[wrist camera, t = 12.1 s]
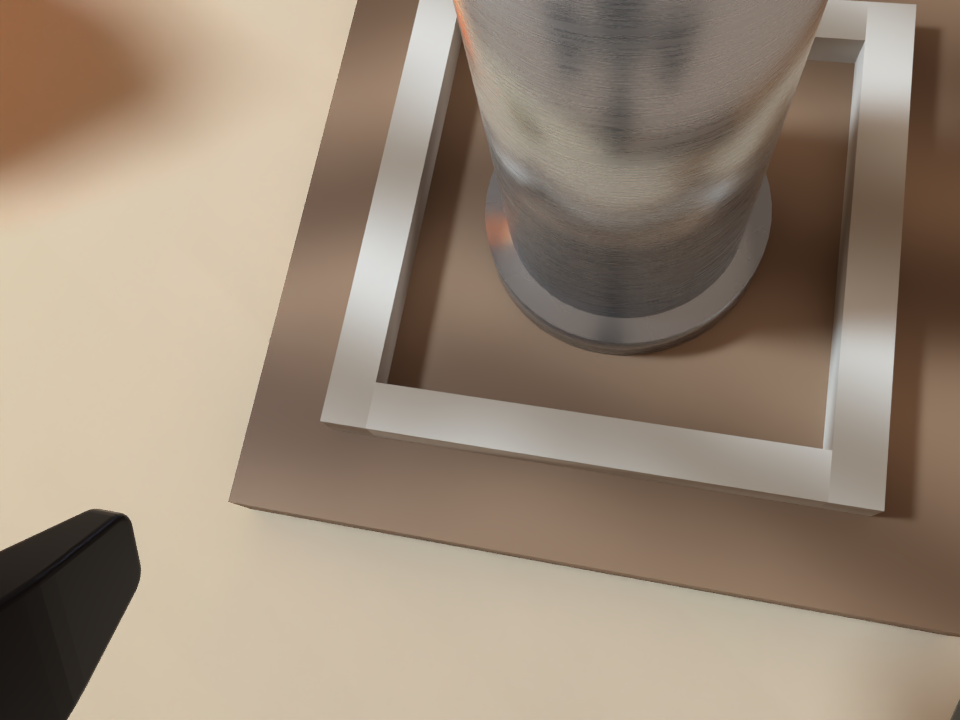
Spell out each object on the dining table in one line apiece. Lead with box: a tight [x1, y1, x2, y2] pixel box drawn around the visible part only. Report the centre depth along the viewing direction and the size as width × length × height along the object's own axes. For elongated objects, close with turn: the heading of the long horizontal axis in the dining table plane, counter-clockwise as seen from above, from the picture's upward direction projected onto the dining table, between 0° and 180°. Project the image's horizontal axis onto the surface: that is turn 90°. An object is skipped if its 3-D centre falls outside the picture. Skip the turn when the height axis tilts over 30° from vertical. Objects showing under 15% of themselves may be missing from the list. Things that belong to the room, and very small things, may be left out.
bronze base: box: [228, 0, 960, 636], centre depth 24 cm, size 18×18×2 cm
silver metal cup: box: [453, 0, 828, 356], centre depth 17 cm, size 7×7×13 cm
